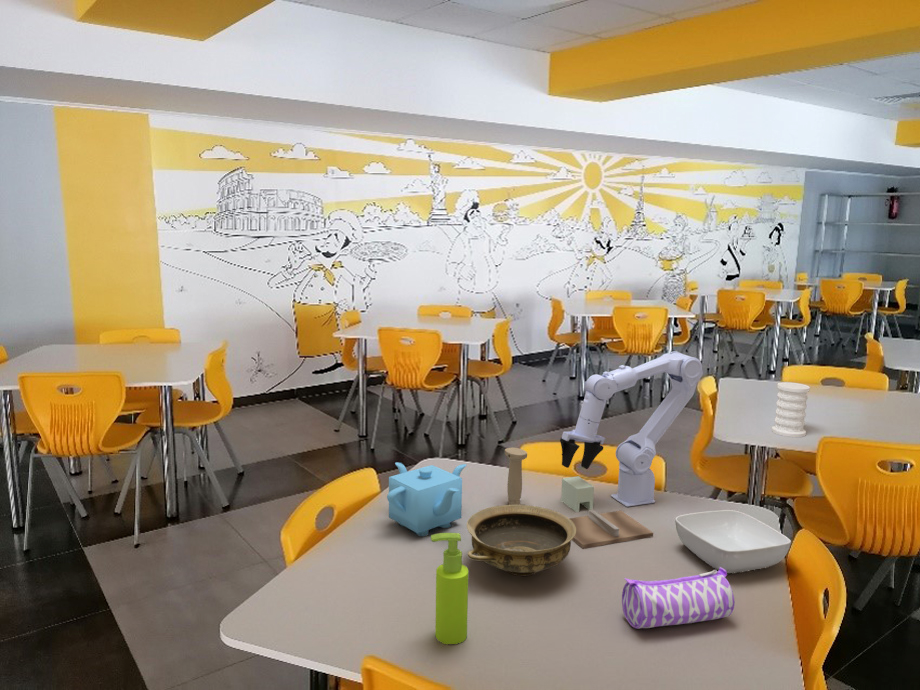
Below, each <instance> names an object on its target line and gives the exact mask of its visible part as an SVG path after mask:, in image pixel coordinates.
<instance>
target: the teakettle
mask: <svg viewBox="0 0 920 690" xmlns="http://www.w3.org/2000/svg"><path fill="white" fill-rule="evenodd" d="M394 464H395V466H396V467H397V469H398V472H399V473H397V474H395V475H392V476H389V477H388V494H387V496H386V499H387V501H388V518H389V519H391V520H393V521H394V522H397V523H398V524H399V525H400V526H401V527H405V528H407V529H409V530H411V531H412V532H414V533H416V535H417V536H419V537H426V536H429V533H430V532H429V530H432V529H435V528H438V527H440V528H442V529H449V528H451V526H452V525H451V523H452V522H455V521H457V520H460V519H462V505H463V503H462V501H463V478H462V477H461V476H460V475H461V472H462V471H463V470H464V468H466V467H467V464H465V463H464V464H459V465H457V466H456V467H455V468H454V469H453V471H452V472H450V471H447V470H444V469H442V468H440V467H438V466H436V465H427V466H423V467H419V468H416V469H413V470H409V471H408V470H407V468H406V466H405V465H404V464H403V463H402V462H397V461H396V462H395V463H394Z"/></svg>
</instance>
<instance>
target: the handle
mask: <svg viewBox="0 0 920 690" xmlns="http://www.w3.org/2000/svg"><path fill="white" fill-rule="evenodd" d="M504 455H505V456H506V458H508V459H509V461H508V463H509V464H508V473H507V474H508V475H507V487H506V488H507V490H506V491H507V502H508V505H521V498H522V490H523V469H522V467H523V466H522V465H523V460H525V459H527V457H528V452H527V451H526V450H524V449H521V448H517V447H508V448H505V449H504Z"/></svg>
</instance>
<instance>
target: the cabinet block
mask: <svg viewBox="0 0 920 690" xmlns="http://www.w3.org/2000/svg"><path fill="white" fill-rule="evenodd" d="M594 493H595V486H594V485H592V484H591V483H589V482H588V481H586V480H585V479H583V478H582V477H580V476H579V475H578V476H569V477H563V478H561V496H560V501H561V502H562V503H563V502H564V504H565V505H566V506H567V505H568V506H567V507H569V508H570V509H571V510H572V511H574V512H575V513H579V512H580V504H581V505H582V504H583V505H584V507H585V508H586V507H587V508H586V509H588V510H592V509H593V510H594V495H595V494H594ZM583 505H582V506H583Z"/></svg>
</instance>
